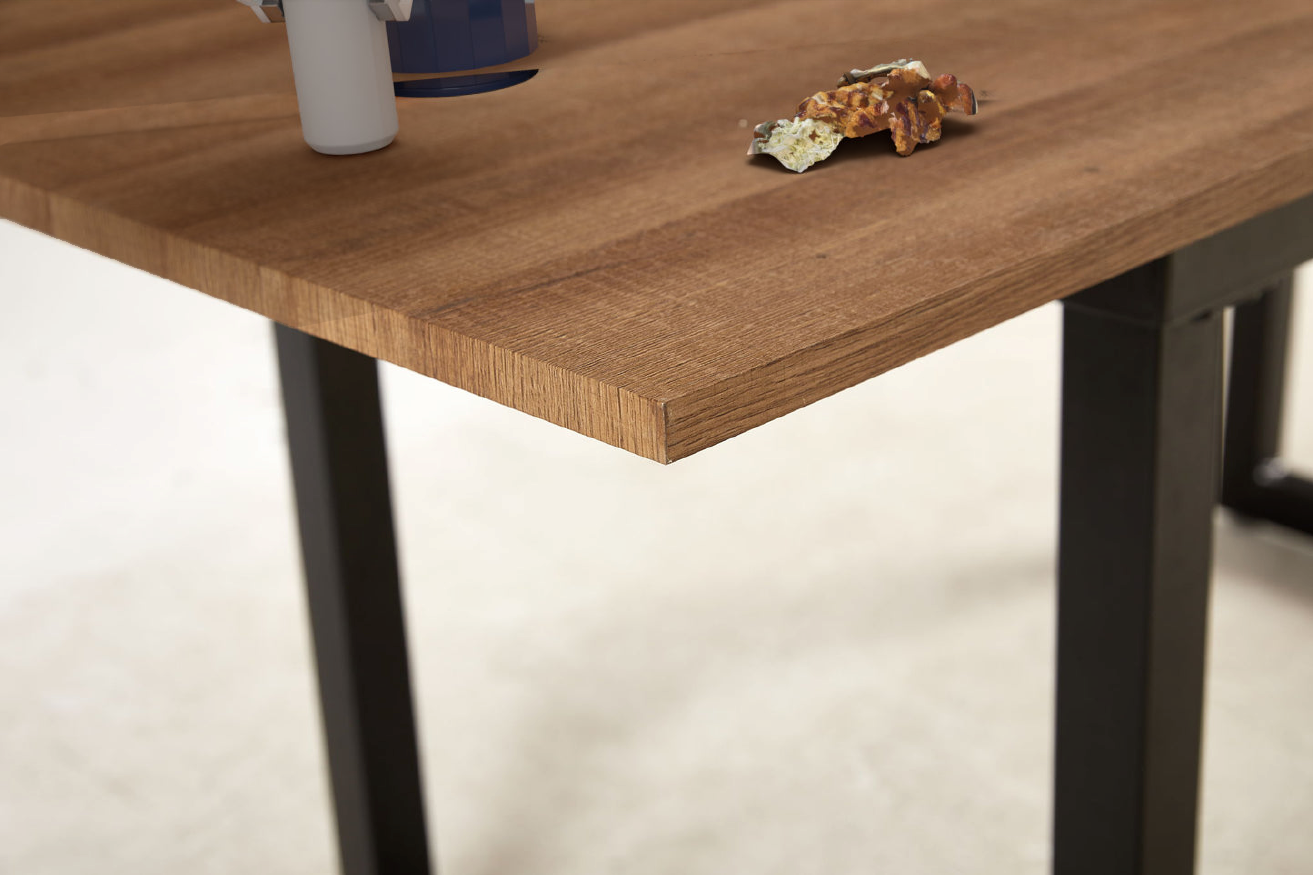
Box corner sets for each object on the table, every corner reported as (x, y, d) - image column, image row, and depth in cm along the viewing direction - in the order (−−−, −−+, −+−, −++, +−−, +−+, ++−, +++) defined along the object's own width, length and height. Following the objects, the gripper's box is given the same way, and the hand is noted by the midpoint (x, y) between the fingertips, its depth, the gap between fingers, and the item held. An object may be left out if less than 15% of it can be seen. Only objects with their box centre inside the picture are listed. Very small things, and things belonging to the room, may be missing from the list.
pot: (512, 97, 87) (496, -60, 83) (337, 98, 89) (315, -55, 85) (558, 55, 96) (546, -89, 93) (399, 57, 98) (381, -84, 95)
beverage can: (296, 140, 81) (258, -102, 75) (387, 126, 82) (355, -112, 77) (316, 162, 77) (277, -92, 71) (411, 147, 78) (379, -103, 73)
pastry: (721, 157, 74) (718, 82, 73) (883, 104, 81) (884, 35, 80) (833, 183, 69) (832, 104, 68) (995, 124, 77) (998, 51, 75)
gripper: (466, -257, 63) (548, -49, 76) (14, -234, 67) (164, -40, 80) (444, -128, 61) (532, 64, 74) (-20, -111, 65) (140, 67, 78)
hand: (338, 10), depth 77 cm, fingers closed on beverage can, 5 cm apart
